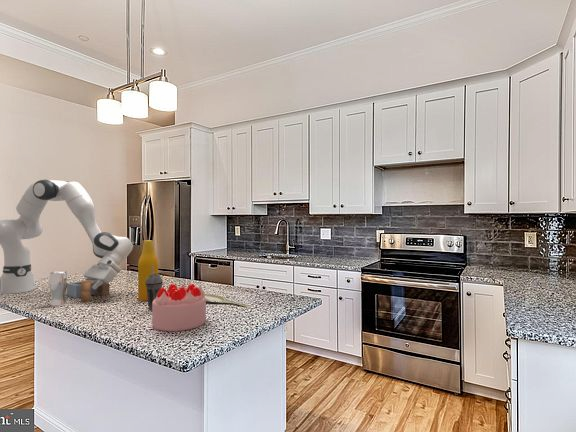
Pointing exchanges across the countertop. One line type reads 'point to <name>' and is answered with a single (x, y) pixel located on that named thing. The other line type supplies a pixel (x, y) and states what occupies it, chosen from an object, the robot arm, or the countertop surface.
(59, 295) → the beer glass
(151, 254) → the beer bottle
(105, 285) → the backstop wall
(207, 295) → the spoon
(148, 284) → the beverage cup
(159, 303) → the cake
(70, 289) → the socket block
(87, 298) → the dowel
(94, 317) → the countertop surface
